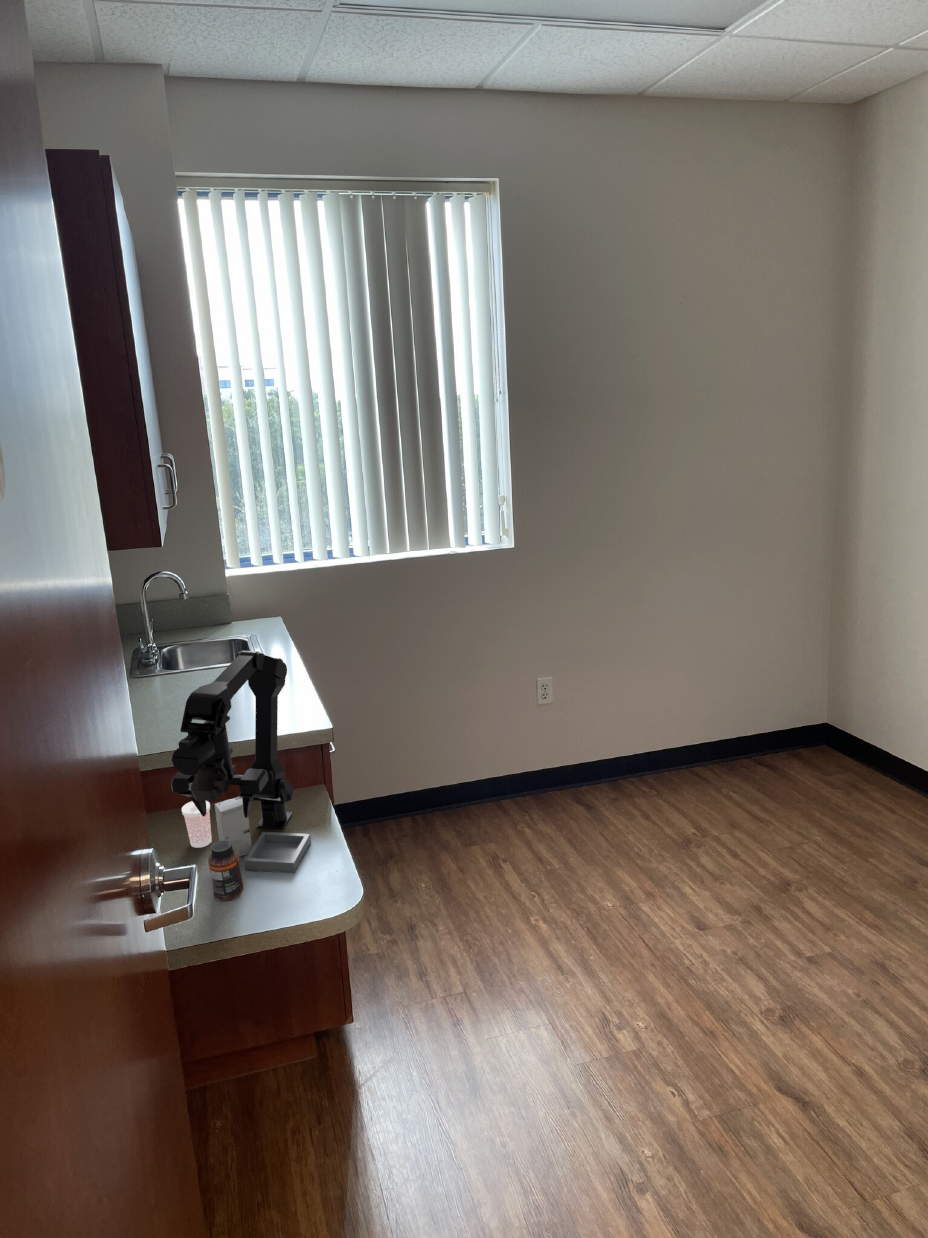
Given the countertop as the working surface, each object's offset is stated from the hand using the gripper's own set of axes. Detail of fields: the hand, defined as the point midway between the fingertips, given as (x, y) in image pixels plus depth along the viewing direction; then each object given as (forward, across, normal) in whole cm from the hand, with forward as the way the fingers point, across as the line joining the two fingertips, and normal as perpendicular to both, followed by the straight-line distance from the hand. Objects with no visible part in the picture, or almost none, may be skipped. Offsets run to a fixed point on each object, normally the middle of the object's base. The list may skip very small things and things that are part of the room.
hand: (225, 816), depth 177 cm
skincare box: (+14, -2, +6) cm, 15 cm away
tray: (+13, +8, +5) cm, 16 cm away
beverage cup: (+14, -12, +10) cm, 20 cm away
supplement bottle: (+13, +2, -8) cm, 16 cm away
